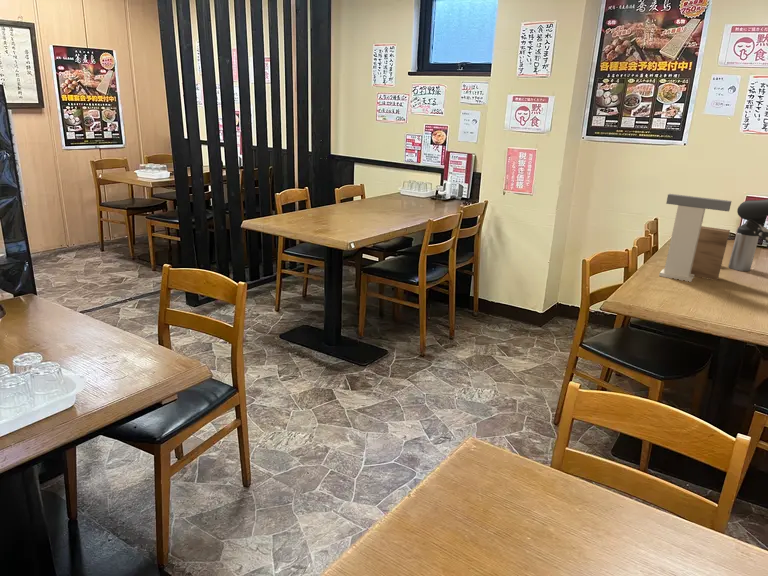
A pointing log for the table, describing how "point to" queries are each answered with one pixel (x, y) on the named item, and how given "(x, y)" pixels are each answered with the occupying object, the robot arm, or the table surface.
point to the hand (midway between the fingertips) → (748, 222)
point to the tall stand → (683, 243)
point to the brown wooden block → (710, 252)
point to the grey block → (699, 202)
